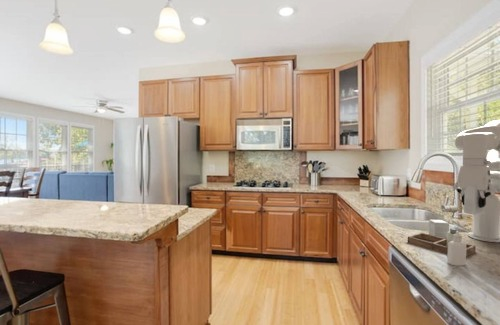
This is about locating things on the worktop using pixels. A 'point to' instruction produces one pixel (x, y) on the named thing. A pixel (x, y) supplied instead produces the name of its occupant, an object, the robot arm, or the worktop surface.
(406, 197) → the worktop surface
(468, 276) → the worktop surface
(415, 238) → the wooden frame
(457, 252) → the eye dropper bottle
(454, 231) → the sage bottle
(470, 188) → the skincare box
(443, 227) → the skincare box
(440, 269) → the worktop surface
